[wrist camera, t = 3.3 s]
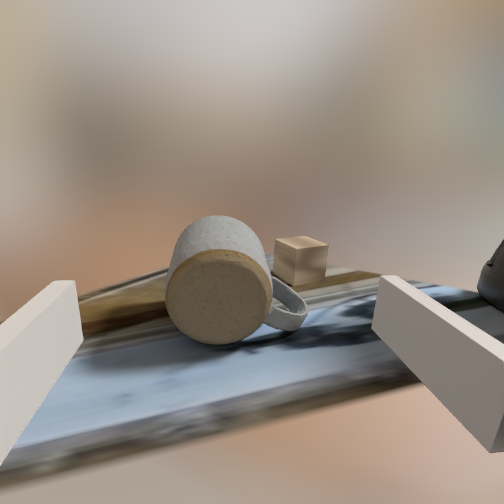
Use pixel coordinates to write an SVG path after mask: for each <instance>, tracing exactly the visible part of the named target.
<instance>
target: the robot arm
mask: <svg viewBox="0 0 504 504" xmlns="http://www.w3.org/2000/svg"><path fill="white" fill-rule="evenodd" d="M477 289H478V292H479V293H480V294H481V295H482V296H483V297H484V298H485V299H486V300H487V301H489V302H490V303H491V304H493V305H494V306H496V307H498V308H499V309H501V310H503V311H504V240H503V241H502V243H501V244H500V245H499V247H498V248H497V250H496V251H495V253H494V254H493V256H492V258H491V259H490V260H489V261H487V263H485V265H484V267H483V269H482V271H481V275H480V278H479V282H478V285H477ZM371 329H372V330H373V331H374V332H375V333H376V334H377V335H378V336H379V337H380V338H381V339H382V340H383V341H384V342H385V343H386V344H387V345H388V347H389V348H390V349H391V350H392V351H393V352H394V353H395V354H396V355H397V356H398V357H399V358H400V359H401V360H402V361H403V362H404V363H405V364H406V366H407V367H408V368H409V369H410V370H411V371H412V372H413V373H414V374H415V375H416V376H417V377H418V378H419V379H420V380H421V381H422V382H423V383H424V384H425V386H426V387H427V388H428V389H429V390H430V391H431V392H432V393H433V394H434V395H435V396H436V397H437V398H438V399H439V400H440V401H441V402H442V403H443V405H444V406H445V407H446V408H447V409H448V410H449V411H450V412H451V413H452V414H453V415H454V416H455V417H456V418H457V419H458V420H459V421H460V422H461V423H462V425H464V427H465V428H466V429H467V430H468V431H469V432H470V433H471V434H472V435H473V436H474V437H475V438H476V439H477V440H478V441H479V442H480V443H481V444H482V445H483V447H484V448H486V450H487V451H488V452H489V453H496V452H504V344H503V343H502V342H501V341H500V340H498V339H497V338H495V337H493V336H492V335H490V334H489V333H487V332H484V331H482V330H481V329H479V328H478V327H476V326H474V325H473V324H471V323H470V322H468V321H467V320H465V319H463V318H462V317H460V316H459V315H457V314H456V313H454V312H452V311H451V310H449V309H448V308H446V307H445V306H443V305H441V304H440V303H438V302H437V301H435V300H434V299H432V298H430V297H429V296H427V295H426V294H424V293H423V292H421V291H419V290H418V289H416V288H415V287H413V286H412V285H410V284H409V283H407V282H405V281H404V280H402V279H401V278H399V277H398V276H396V275H391V276H380V282H379V287H378V293H377V299H376V304H375V310H374V316H373V321H372V327H371ZM82 342H83V335H82V328H81V320H80V313H79V306H78V299H77V292H76V285H75V281H74V280H66V281H53V282H52V283H51V284H49V285H48V286H47V287H46V288H45V289H43V290H42V291H41V292H40V293H39V294H37V295H36V296H35V297H34V298H33V299H31V300H30V301H29V302H28V303H26V304H25V305H24V306H23V307H22V308H21V309H19V310H18V311H17V312H16V313H14V314H13V315H12V316H11V317H10V318H8V319H7V320H6V321H5V322H3V323H2V324H1V325H0V465H1V464H2V462H3V461H4V459H5V458H6V456H7V455H8V453H9V452H10V450H11V449H12V447H13V446H14V444H15V443H16V441H17V440H18V438H19V437H20V435H21V434H22V432H23V431H24V429H25V428H26V426H27V425H28V423H29V422H30V420H31V419H32V417H33V416H34V414H35V413H36V411H37V410H38V408H39V407H40V405H41V404H42V402H43V400H44V399H45V397H46V396H47V394H48V393H49V391H50V390H51V388H52V387H53V385H54V384H55V382H56V381H57V379H58V378H59V376H60V375H61V373H62V372H63V370H64V369H65V367H66V366H67V364H68V363H69V361H70V360H71V358H72V357H73V355H74V354H75V352H76V351H77V349H78V348H79V346H80V345H81V343H82Z"/></svg>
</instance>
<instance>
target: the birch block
mask: <svg viewBox="0 0 504 504" xmlns="http://www.w3.org/2000/svg"><path fill="white" fill-rule="evenodd" d="M327 255H328V245H327V244H324V243H322V242H319V241H317V240H314V239H311V238H309V237H306V236H300V237H291V238H280V239H275V248H274V264H273V273H274V274H275V275H277V276H278V277H280V278H282V279H283V280H285V281H286V282H288V283H289V284H291V285H292V286H298V285H303V284H309V283H314V282H319V281H324V280H325V272H326V263H327Z"/></svg>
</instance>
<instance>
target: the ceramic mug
mask: <svg viewBox="0 0 504 504" xmlns="http://www.w3.org/2000/svg"><path fill="white" fill-rule="evenodd" d="M272 297H274V298H276V299H277V300H279V301H280V302H281V303H283V304H284V305H285V306H287V307H288V308H289V309H290V310H291V312H289V311H285V310H283V309H280V308H277V307H275V306H273V305H272V303H271V301H272ZM165 304H166V308H167V311H168V314H169V316H170V318H171V320H172V321H173V323H174V324H175V326H176V327H177V328H178V329H179V330H180V331H181V332H182V333H184V334H185V335H186V336H188V337H189V338H191V339H194V340H196V341H199V342H202V343H206V344H214V345H221V344H229V343H233V342H237V341H240V340H242V339H244V338H246V337H248V336H250V335H251V334H253V333H254V332H255V331H256V330H257V329H258V328H259V327H260V326H261V325H262V324H263V323H264V324H266V325H268V326H270V327H273V328H275V329H280V330H283V331H294V330H297V329H298V328H299V327H300V326H301V325H302V323H303V321H304V319H305V318H306V316H307V314H308V307H307V305H306V303H305V301H304V300H303V299H302V298H301V297H300V296H299V295H298V294H297V293H296V292H295V291H294V290H293V289H291V288H290V287H289V286H287V285H286V284H284V283H283V282H281V281H280V280H278V279H277V278H275V277H273V276H271V274H270V271H269V268H268V266H267V262H266V258H265V255H264V251H263V247H262V245H261V243H260V241H259V239H258V237H257V236H256V234H255V233H254V232H253V231H252V230H251V229H250V228H249V227H248V226H247V225H246V224H244V223H243V222H241V221H239V220H237V219H234V218H232V217H227V216H209V217H204V218H201V219H199V220H197V221H195V222H194V223H192V224H190V225H189V226H188V227H187V228H186V229H185V230H184V231H183V232H182V233H181V235H180V237H179V238H178V241H177V243H176V245H175V249H174V253H173V256H172V259H171V263H170V268H169V270H168V273H167V277H166V280H165Z"/></svg>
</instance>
